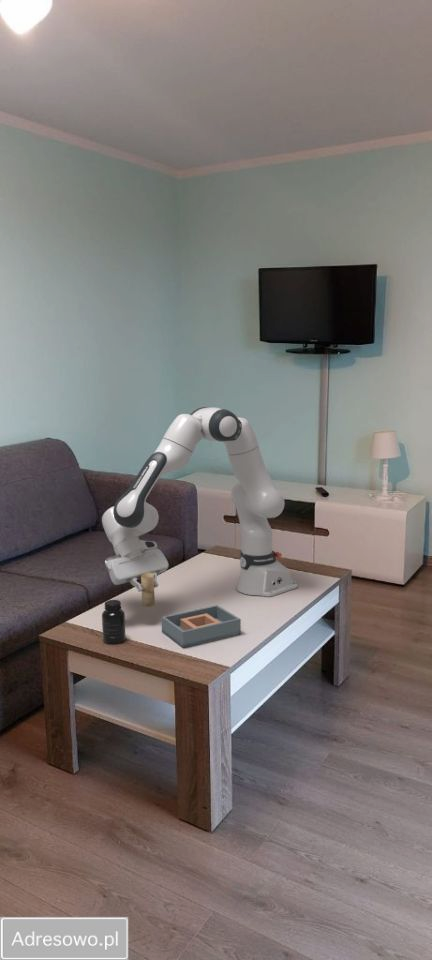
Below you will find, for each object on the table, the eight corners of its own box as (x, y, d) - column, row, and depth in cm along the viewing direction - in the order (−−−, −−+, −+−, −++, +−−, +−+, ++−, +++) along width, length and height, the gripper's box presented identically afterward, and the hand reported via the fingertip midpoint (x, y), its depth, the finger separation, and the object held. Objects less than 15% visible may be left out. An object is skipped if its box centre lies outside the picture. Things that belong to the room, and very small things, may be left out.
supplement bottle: (105, 635, 222) (103, 598, 220) (127, 635, 222) (126, 598, 220) (100, 644, 215) (99, 606, 213) (123, 644, 215) (122, 606, 213)
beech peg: (151, 601, 232) (150, 571, 230) (156, 605, 229) (155, 574, 227) (140, 603, 230) (138, 573, 228) (145, 607, 227) (144, 577, 225)
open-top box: (217, 619, 234) (217, 604, 233) (240, 634, 222) (240, 619, 221) (161, 632, 224) (161, 616, 223) (182, 648, 213) (182, 632, 212)
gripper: (106, 553, 225) (124, 591, 219) (159, 540, 238) (178, 576, 232) (99, 564, 229) (117, 601, 224) (152, 551, 242) (170, 586, 237)
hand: (149, 588), depth 228 cm, fingers closed on beech peg, 4 cm apart
